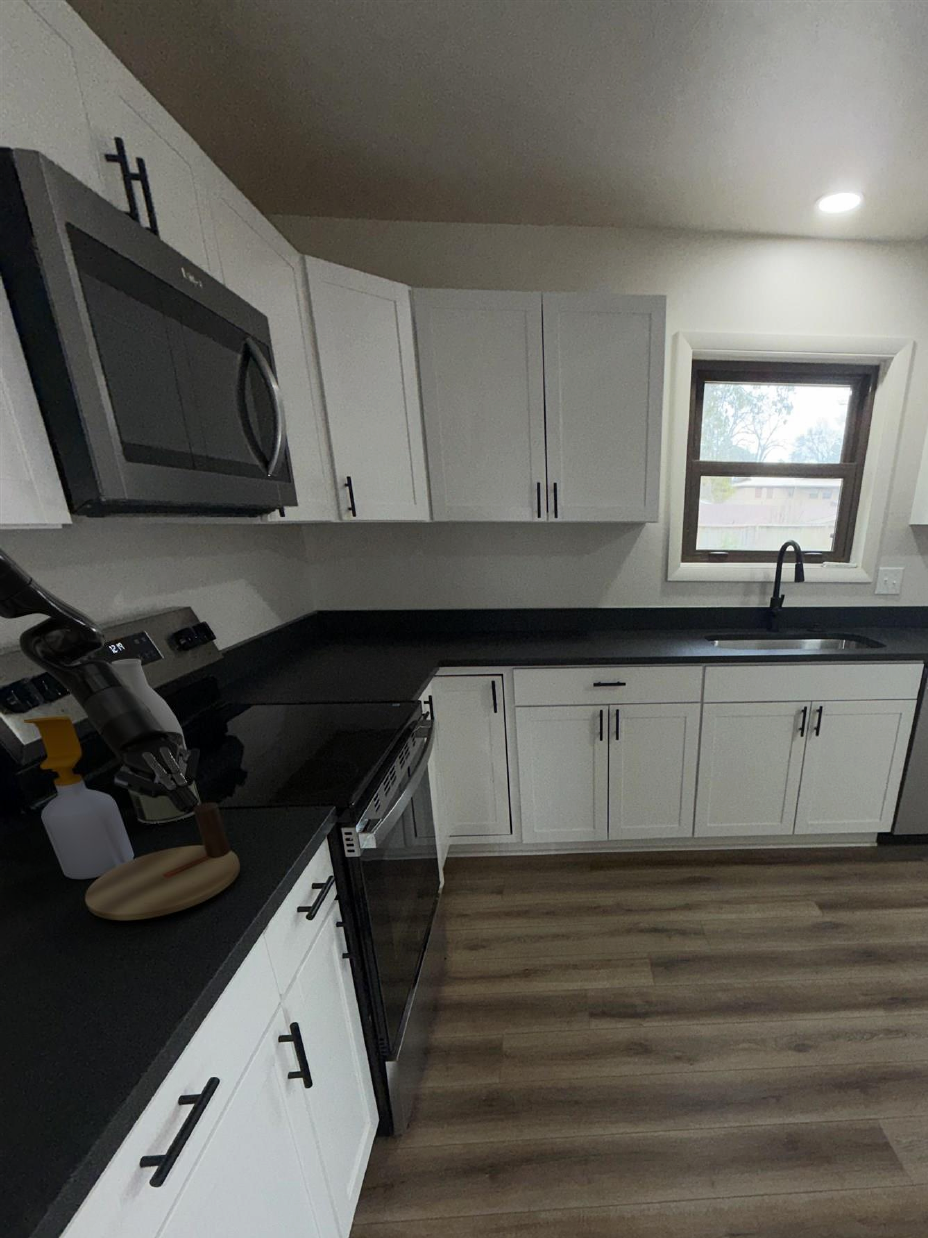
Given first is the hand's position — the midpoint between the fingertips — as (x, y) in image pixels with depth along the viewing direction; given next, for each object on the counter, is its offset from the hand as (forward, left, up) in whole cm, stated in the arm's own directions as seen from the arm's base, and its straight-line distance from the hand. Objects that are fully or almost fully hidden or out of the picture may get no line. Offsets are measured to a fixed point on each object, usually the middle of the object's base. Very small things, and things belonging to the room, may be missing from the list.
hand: (192, 810), depth 100 cm
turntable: (+2, -10, -7) cm, 12 cm away
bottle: (-28, +23, -8) cm, 37 cm away
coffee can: (-18, +13, -8) cm, 24 cm away
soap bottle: (-14, -5, -8) cm, 17 cm away
